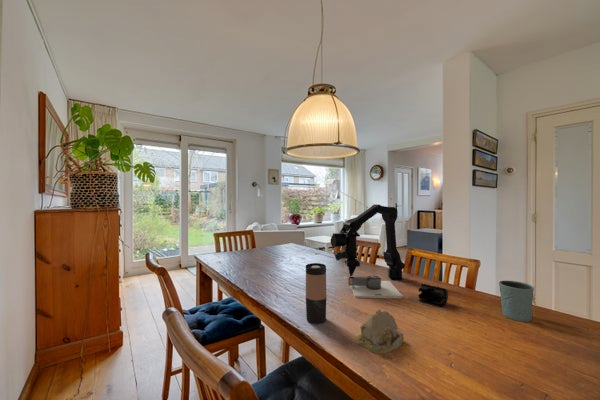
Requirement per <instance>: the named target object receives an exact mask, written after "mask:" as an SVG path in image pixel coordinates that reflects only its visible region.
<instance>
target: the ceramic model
mask: <svg viewBox="0 0 600 400" xmlns="http://www.w3.org/2000/svg"><path fill="white" fill-rule="evenodd" d="M360 332H361V333H360V334H358V335H357V337H356V340H355V342H356V344H357V345H359V346H361V347H362V348H365V349H366V350H367V351H369V352H371V353H375V354H388V353H390V352H393V351H395V350H397V349H398V348H399V347H400V346H402V344H403V343H404V339H405V338H404V333H403V332H402V331H399V328H398V325H397V322H396V320H395V317H394V316H393V315H392V314H390V313H389V311H387V310H385V311H381V310H380V309H378V310H375V313H374V314H371V315H370V316H369V318H368V319H367V320H365V322H364V323H362V325H360Z"/></svg>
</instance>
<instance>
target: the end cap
mask: <svg viewBox="0 0 600 400" xmlns="http://www.w3.org/2000/svg"><path fill="white" fill-rule="evenodd" d="M420 285H421V286H420V287H419V288H418V292H419V293H418V299H419V300H418V301H419V303H422V304H423V303H424V304H427V305H431V306H434V307H437V308H440V309H441V308H443V307H444V306H446V304H447V303H448V300H449V290H448V289H447V288H444V287H439V286H435V285H430V284H426V283H421V284H420Z"/></svg>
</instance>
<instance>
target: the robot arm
mask: <svg viewBox="0 0 600 400" xmlns="http://www.w3.org/2000/svg"><path fill="white" fill-rule="evenodd" d="M377 214H380V215H381V218H382V220H383V221H384V223H385V238H386V250H385V251H383V260H384V262H385V263H386V266H387V267H388V269H387V277H388V278H389V279H390V280H392V281H404V278H403V269H405V268H406V267H405V266H406V264H405V263H404V262H403V260H402V259H401V254H400V252H399V251H398V248H397V239H396V238H397V236H396V221H397V219H398V208H396V207H394V206H384V205H381V204H377V203H375V204H372V205H371V206H370V207H369V208H368V209H366V210H364V211H363V212H362V213H361V214H359V215H357V216H355V217H353V218H350V219H347V220H346V221H344V222H343V225H342V228H341V229H340V231H339V232H338V233H337V232H335V233H333V232H332V236H331V237H330V245H331V246H332V248H340V247H344V248H343V249H341V250H339V251H336V252H334V253H333V255H334V258H335V260H336V261H340V260H342V259H343V260H344V263H345V265H346V267H347V269H348V273H349V277H353V275H354V272H355V271H356V268H357V267H360V266H361V263H360V261H359V259H358V255H357V252H358V247H357V237H358V238H359V237H361V234H359V233H358V231H359V230H360V229H361V227H362V226H363V225H364V223H366V222H367V221H369V220H370V219H372V218H373V217H374V216H375V215H377Z"/></svg>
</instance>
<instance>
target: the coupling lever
mask: <svg viewBox="0 0 600 400" xmlns="http://www.w3.org/2000/svg"><path fill="white" fill-rule="evenodd" d="M381 281H382V278H381V277H380V276H378V275H376V274H369V275H367V276H347V285H348V286H350V287H351V286H366V287H367V288H369V289H375V290H376V289H380V288H381Z"/></svg>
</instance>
